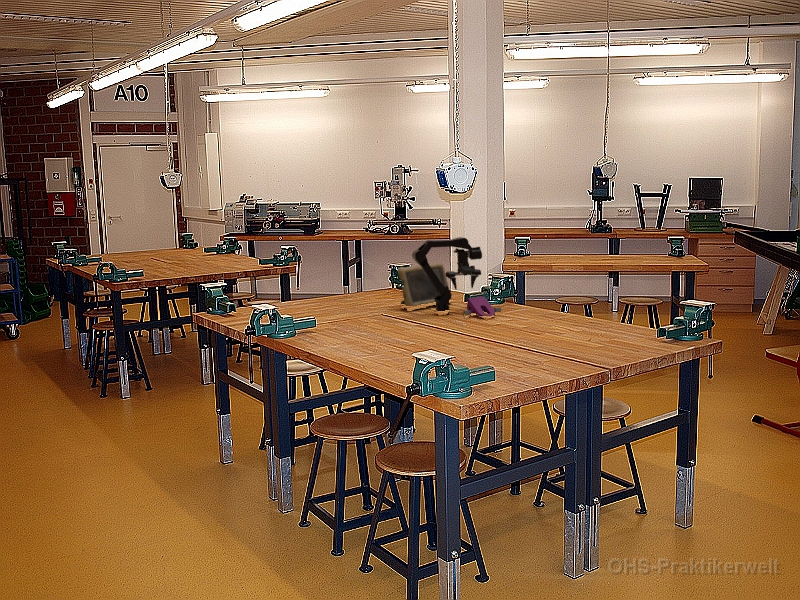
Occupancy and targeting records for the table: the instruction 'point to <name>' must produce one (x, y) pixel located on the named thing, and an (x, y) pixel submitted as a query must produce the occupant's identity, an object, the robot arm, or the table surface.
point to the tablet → (420, 284)
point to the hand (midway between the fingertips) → (464, 289)
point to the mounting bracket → (480, 306)
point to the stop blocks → (468, 312)
